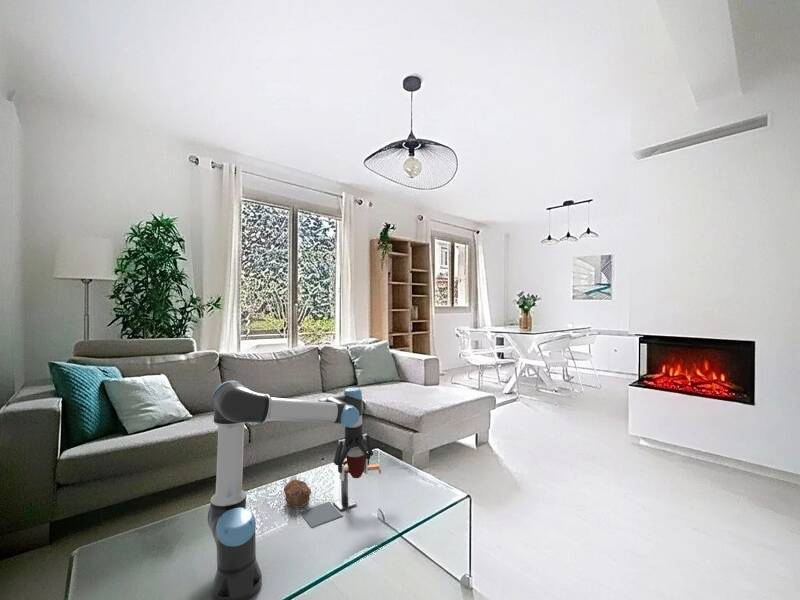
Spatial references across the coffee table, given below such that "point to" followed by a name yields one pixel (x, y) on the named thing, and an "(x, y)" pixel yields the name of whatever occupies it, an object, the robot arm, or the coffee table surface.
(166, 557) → the coffee table surface
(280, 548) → the coffee table surface
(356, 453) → the mug
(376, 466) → the ball-ended drumstick
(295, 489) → the decorative rock
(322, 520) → the mat
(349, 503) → the clip post
